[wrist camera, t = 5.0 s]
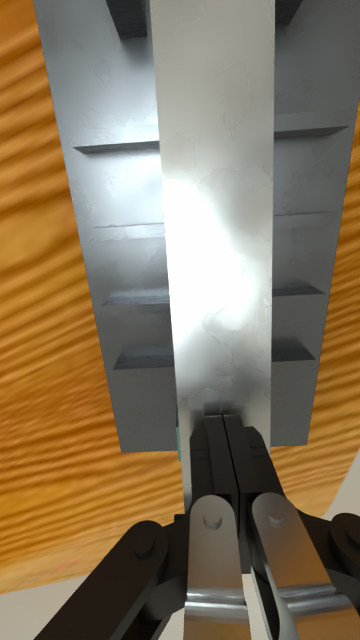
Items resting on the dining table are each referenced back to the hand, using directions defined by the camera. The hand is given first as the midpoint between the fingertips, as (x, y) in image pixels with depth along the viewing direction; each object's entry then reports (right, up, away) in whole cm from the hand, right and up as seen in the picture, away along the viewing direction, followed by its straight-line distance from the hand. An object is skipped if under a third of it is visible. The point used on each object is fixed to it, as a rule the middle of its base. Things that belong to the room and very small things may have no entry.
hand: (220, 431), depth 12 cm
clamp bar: (0, +6, 0) cm, 6 cm away
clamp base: (0, +9, +5) cm, 10 cm away
